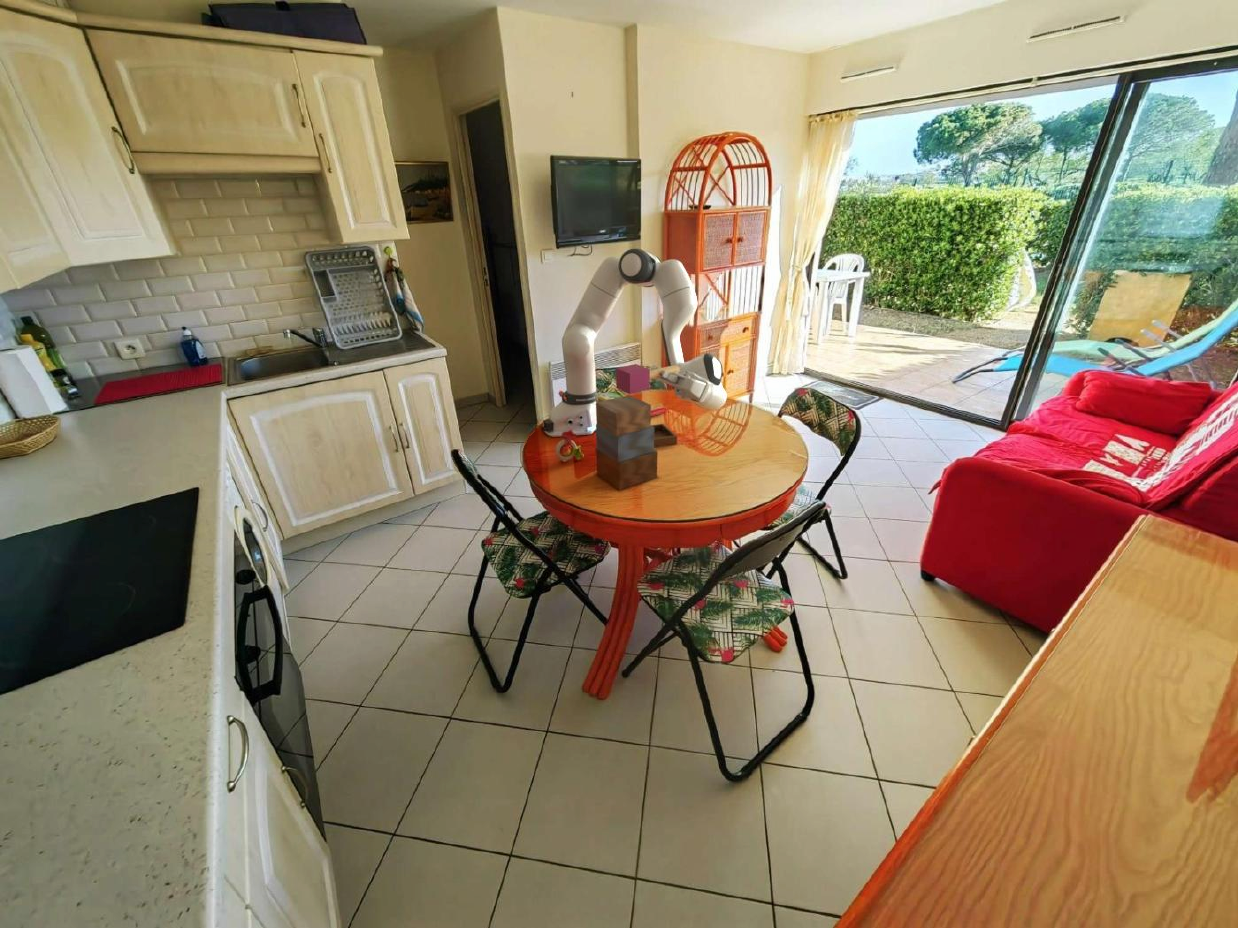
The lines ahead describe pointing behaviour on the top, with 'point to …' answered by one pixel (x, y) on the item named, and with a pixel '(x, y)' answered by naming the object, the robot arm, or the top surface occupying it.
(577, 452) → the bird rattle
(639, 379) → the mulberry block
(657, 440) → the walnut tray
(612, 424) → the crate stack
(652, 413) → the candy bar
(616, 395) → the puzzle game
